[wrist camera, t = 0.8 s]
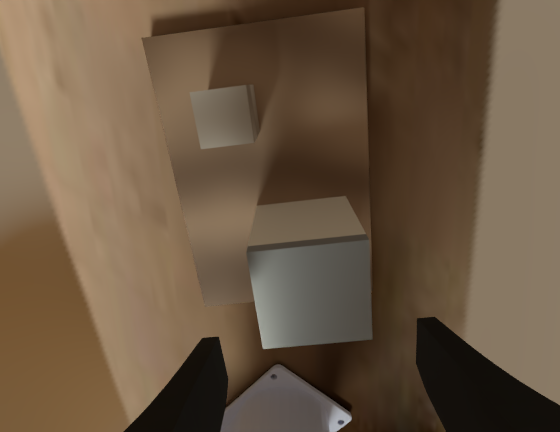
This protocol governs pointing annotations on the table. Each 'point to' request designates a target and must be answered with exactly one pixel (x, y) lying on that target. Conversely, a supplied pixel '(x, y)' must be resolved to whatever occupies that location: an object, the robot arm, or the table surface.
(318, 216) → the matte gray cube
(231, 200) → the stand
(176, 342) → the table surface
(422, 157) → the table surface
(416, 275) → the table surface
